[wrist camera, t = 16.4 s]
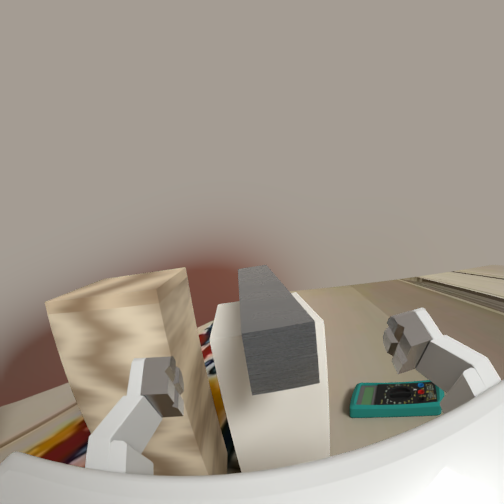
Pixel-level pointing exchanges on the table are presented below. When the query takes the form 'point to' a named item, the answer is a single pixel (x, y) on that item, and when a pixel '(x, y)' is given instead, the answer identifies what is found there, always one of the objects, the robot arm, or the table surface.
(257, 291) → the rod
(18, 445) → the table surface
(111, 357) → the tall stand
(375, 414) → the digital multimeter
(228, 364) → the block
